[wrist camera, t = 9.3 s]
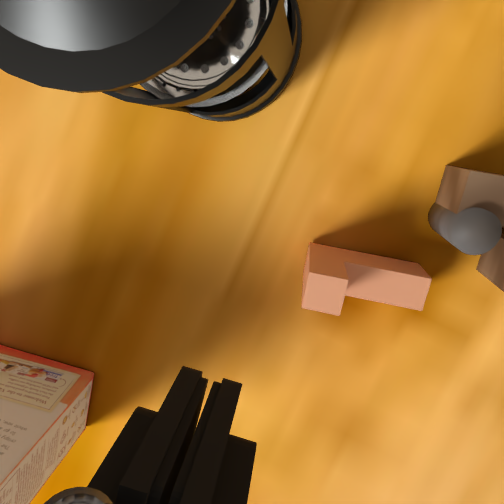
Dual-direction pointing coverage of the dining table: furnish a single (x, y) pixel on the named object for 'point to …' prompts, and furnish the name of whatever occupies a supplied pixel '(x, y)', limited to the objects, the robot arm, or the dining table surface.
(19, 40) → the french press
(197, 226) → the dining table surface
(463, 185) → the tongs fixed jaw
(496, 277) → the tongs jaw
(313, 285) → the tab
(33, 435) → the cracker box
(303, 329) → the dining table surface
